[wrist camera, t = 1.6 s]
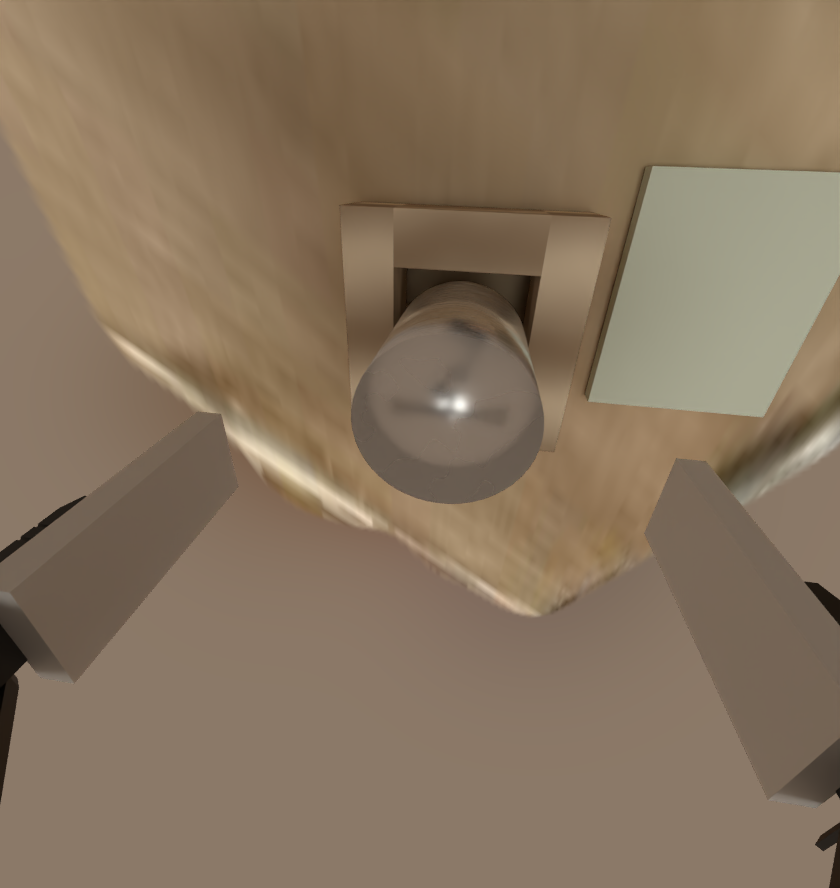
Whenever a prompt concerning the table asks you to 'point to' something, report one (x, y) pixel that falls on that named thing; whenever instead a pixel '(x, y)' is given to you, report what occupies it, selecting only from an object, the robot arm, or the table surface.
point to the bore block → (476, 250)
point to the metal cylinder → (451, 398)
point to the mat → (717, 287)
